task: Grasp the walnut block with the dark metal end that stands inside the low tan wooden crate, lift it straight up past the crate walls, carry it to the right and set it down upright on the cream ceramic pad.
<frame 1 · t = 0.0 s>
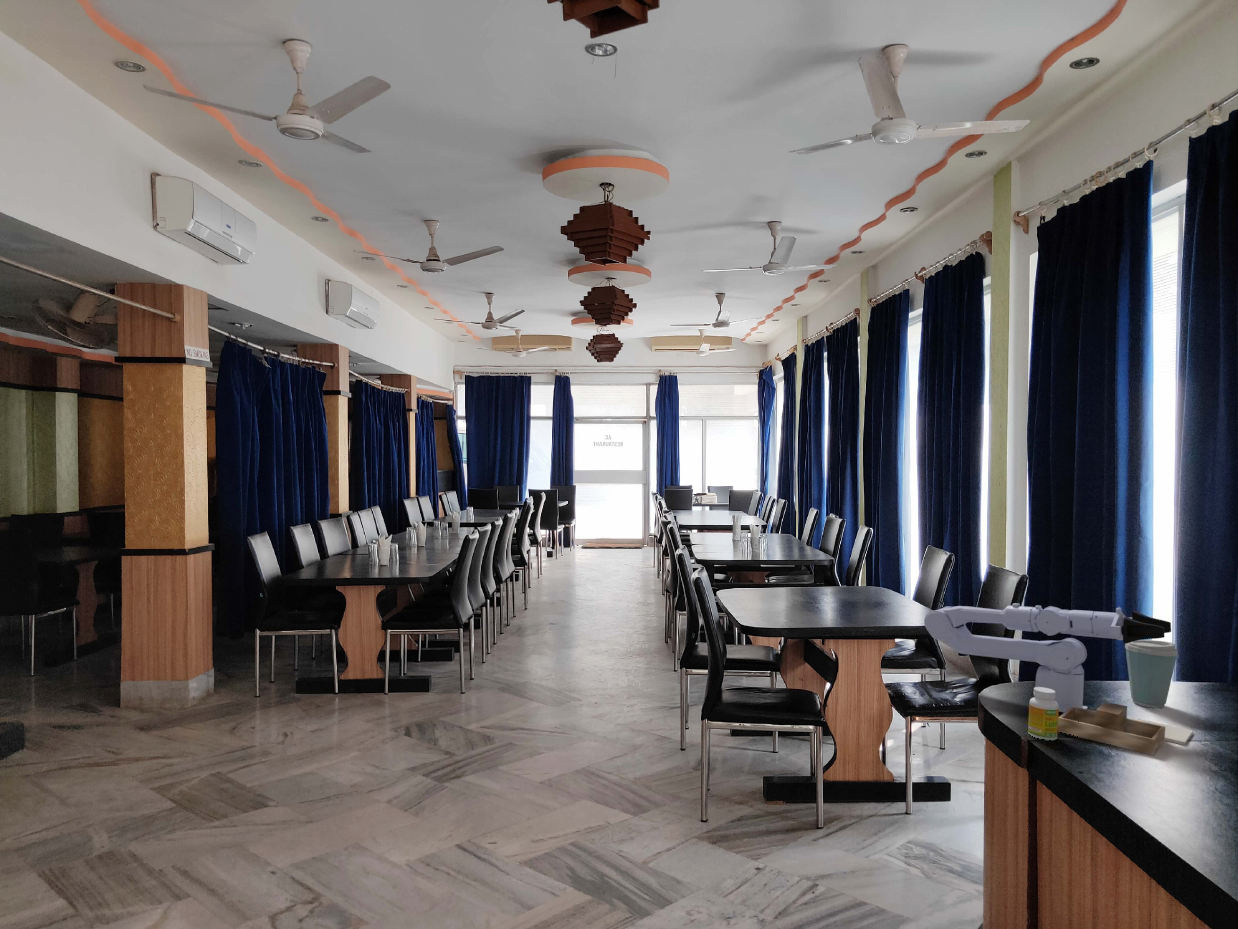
hand: (1167, 629, 173), 22 cm above the table, tool horizontal, fingers open, 7 cm apart
disposable coffee cup: (1148, 704, 192), on the table
crate: (1110, 736, 169), on the table
block: (1111, 722, 169), in the crate
supplement bottle: (1042, 737, 167), on the table
pad: (1160, 732, 172), on the table
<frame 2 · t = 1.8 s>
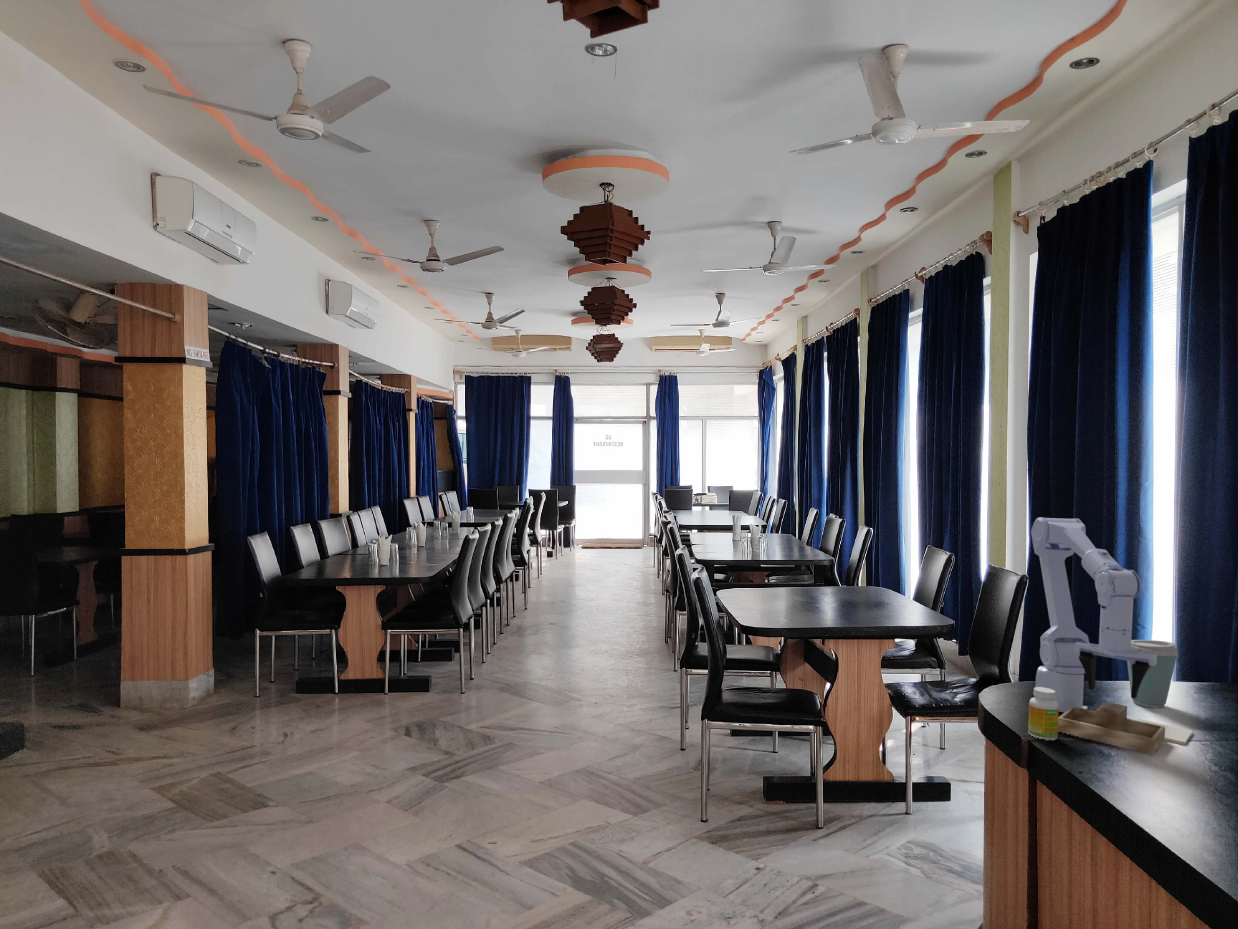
hand: (1112, 693, 168), 9 cm above the table, tool pointing down, fingers open, 7 cm apart
nothing on the table moved.
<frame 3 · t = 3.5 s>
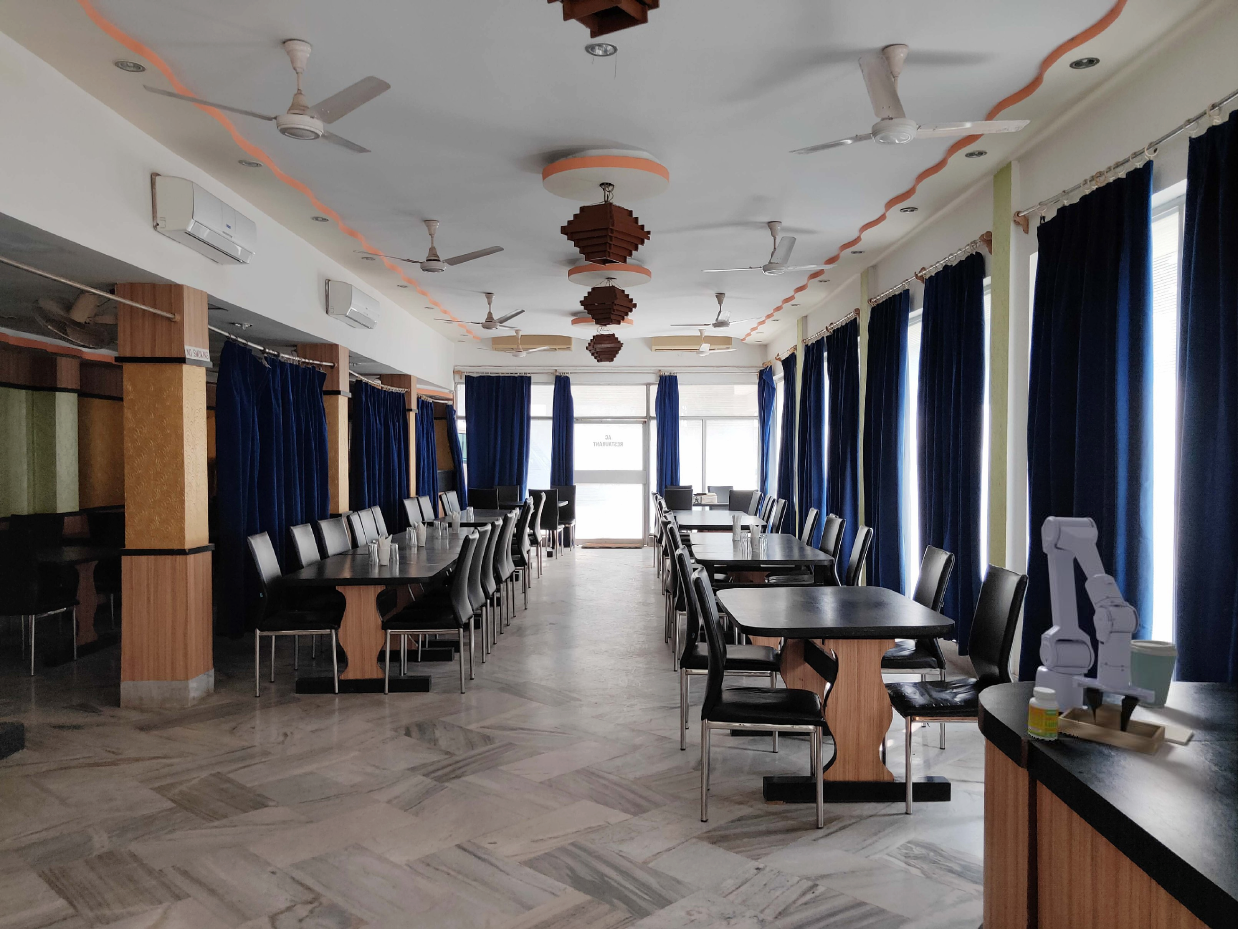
hand: (1110, 728, 169), 2 cm above the table, tool pointing down, fingers closed on block, 4 cm apart
block: (1111, 722, 169), in the crate, touching gripper
everything else where it was.
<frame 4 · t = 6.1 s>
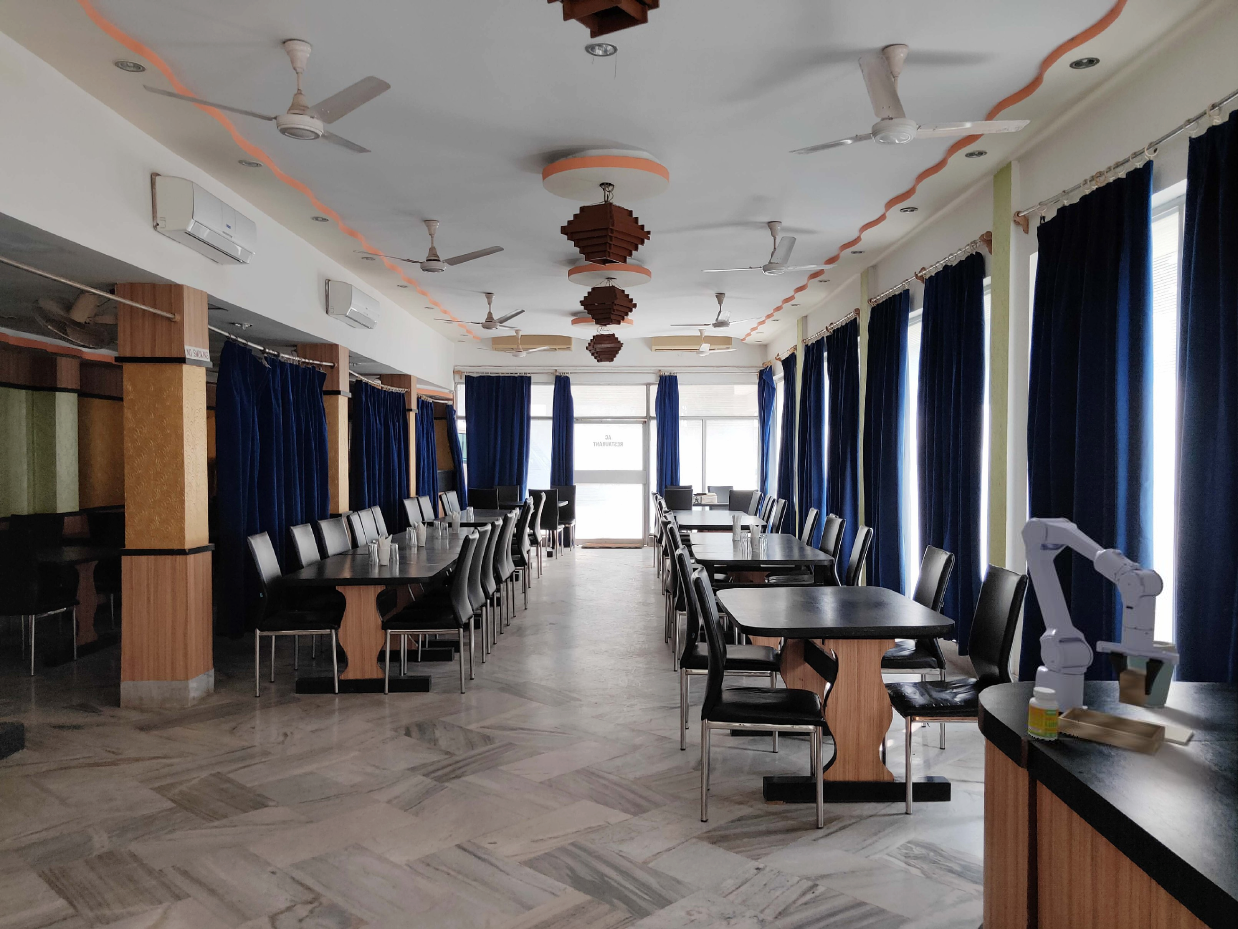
hand: (1135, 691, 170), 9 cm above the table, tool pointing down, fingers closed on block, 4 cm apart
block: (1135, 686, 170), point 10 cm above the table, touching gripper
everything else where it was.
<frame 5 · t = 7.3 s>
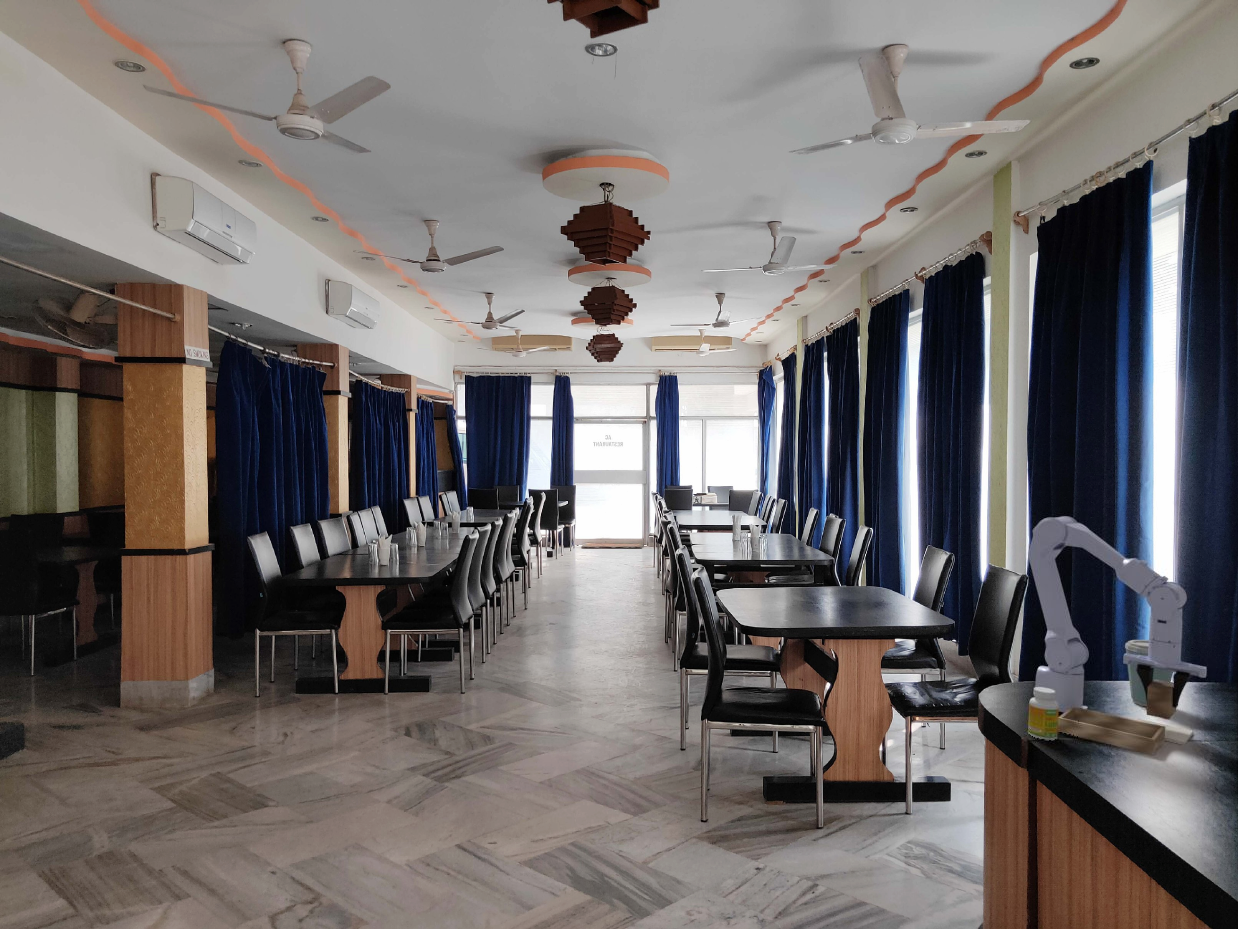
hand: (1162, 703, 172), 6 cm above the table, tool pointing down, fingers closed on block, 4 cm apart
block: (1162, 698, 172), point 7 cm above the table, touching gripper
everything else where it was.
when the fingers open (3 cm above the table, at t = 8.6 s): block stays where it is, resting on pad.
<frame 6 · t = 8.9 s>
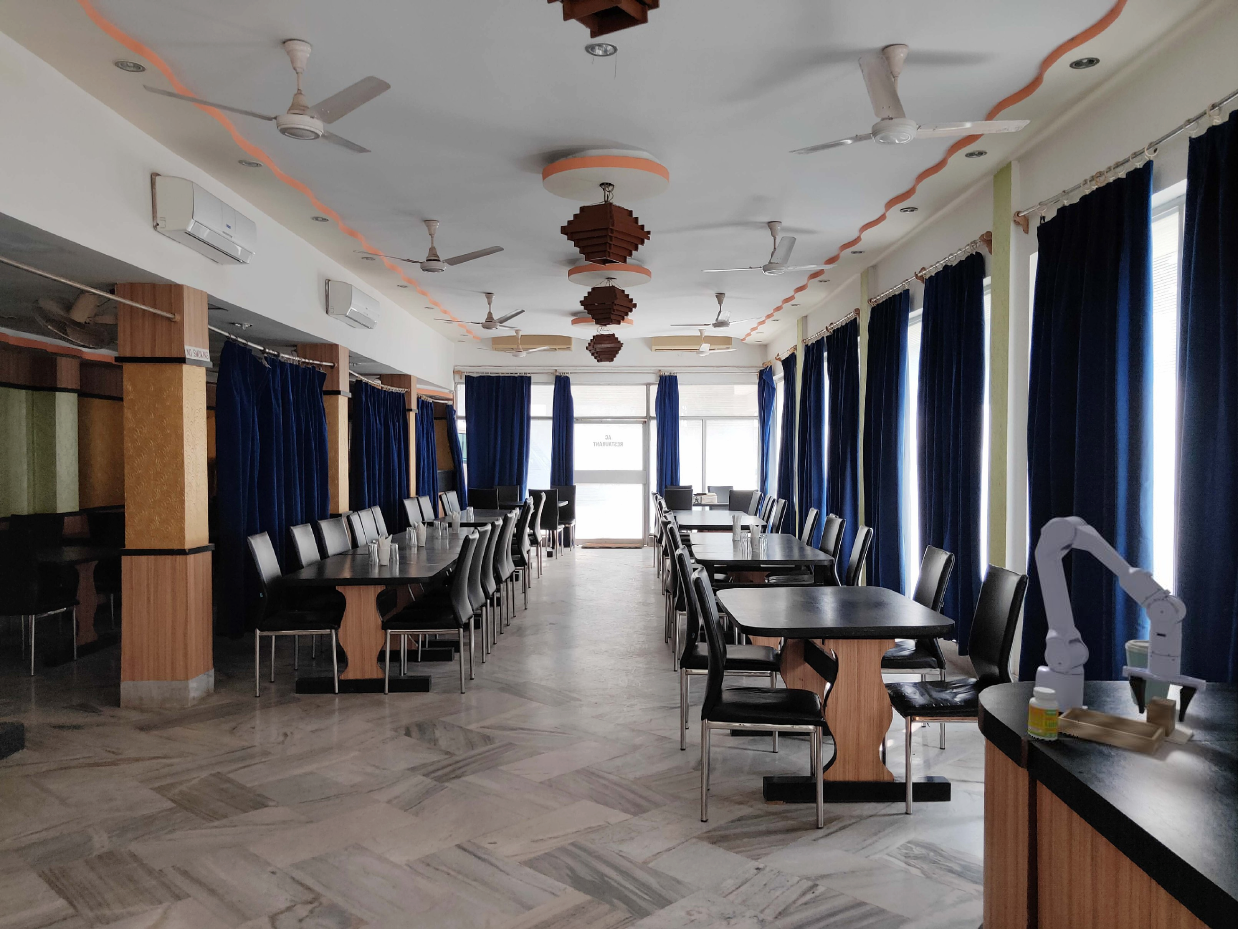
hand: (1161, 716, 172), 3 cm above the table, tool pointing down, fingers open, 6 cm apart
block: (1161, 716, 172), on the pad, point 4 cm above the table
everything else where it was.
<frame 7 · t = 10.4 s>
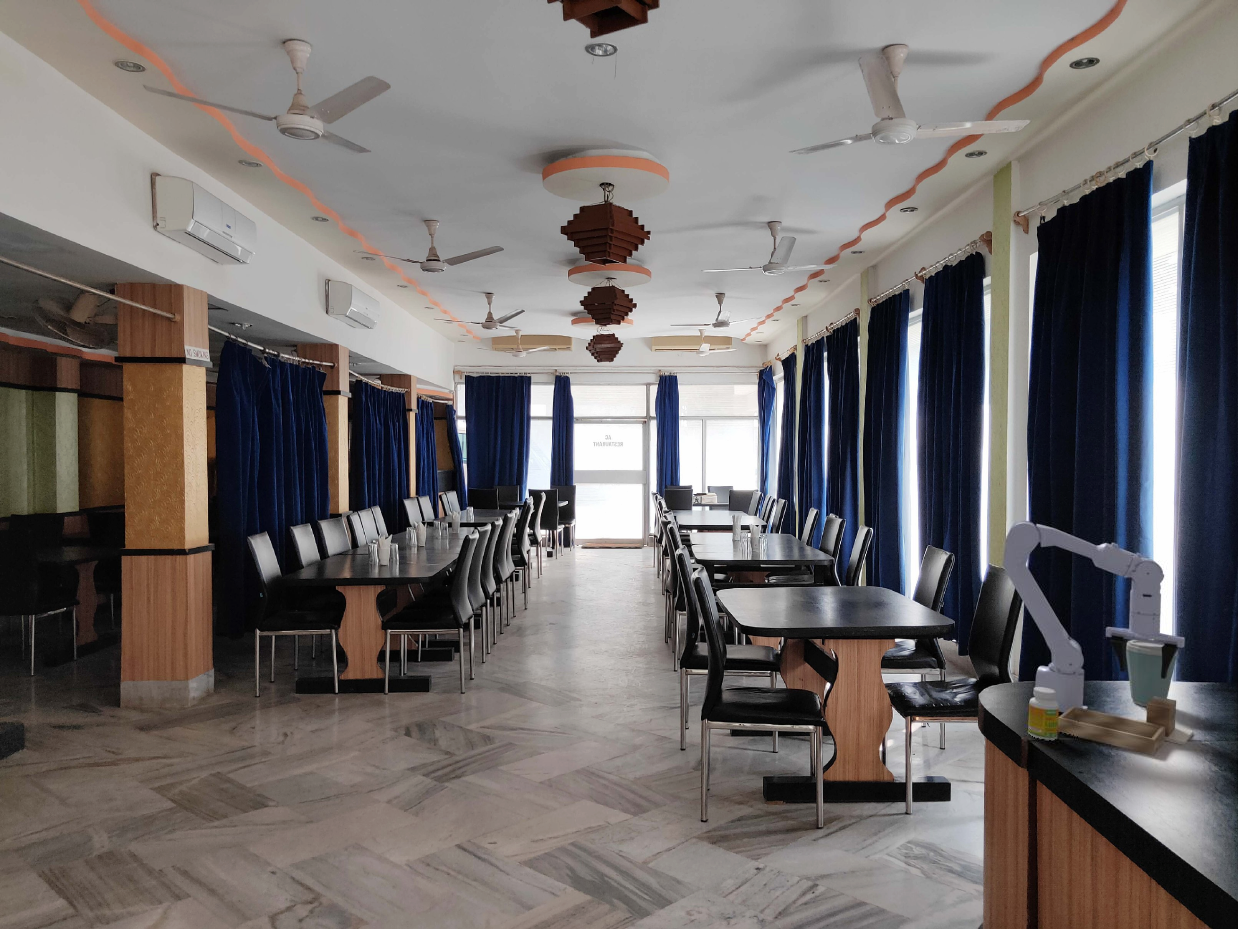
hand: (1143, 674, 179), 10 cm above the table, tool pointing down, fingers open, 7 cm apart
nothing on the table moved.
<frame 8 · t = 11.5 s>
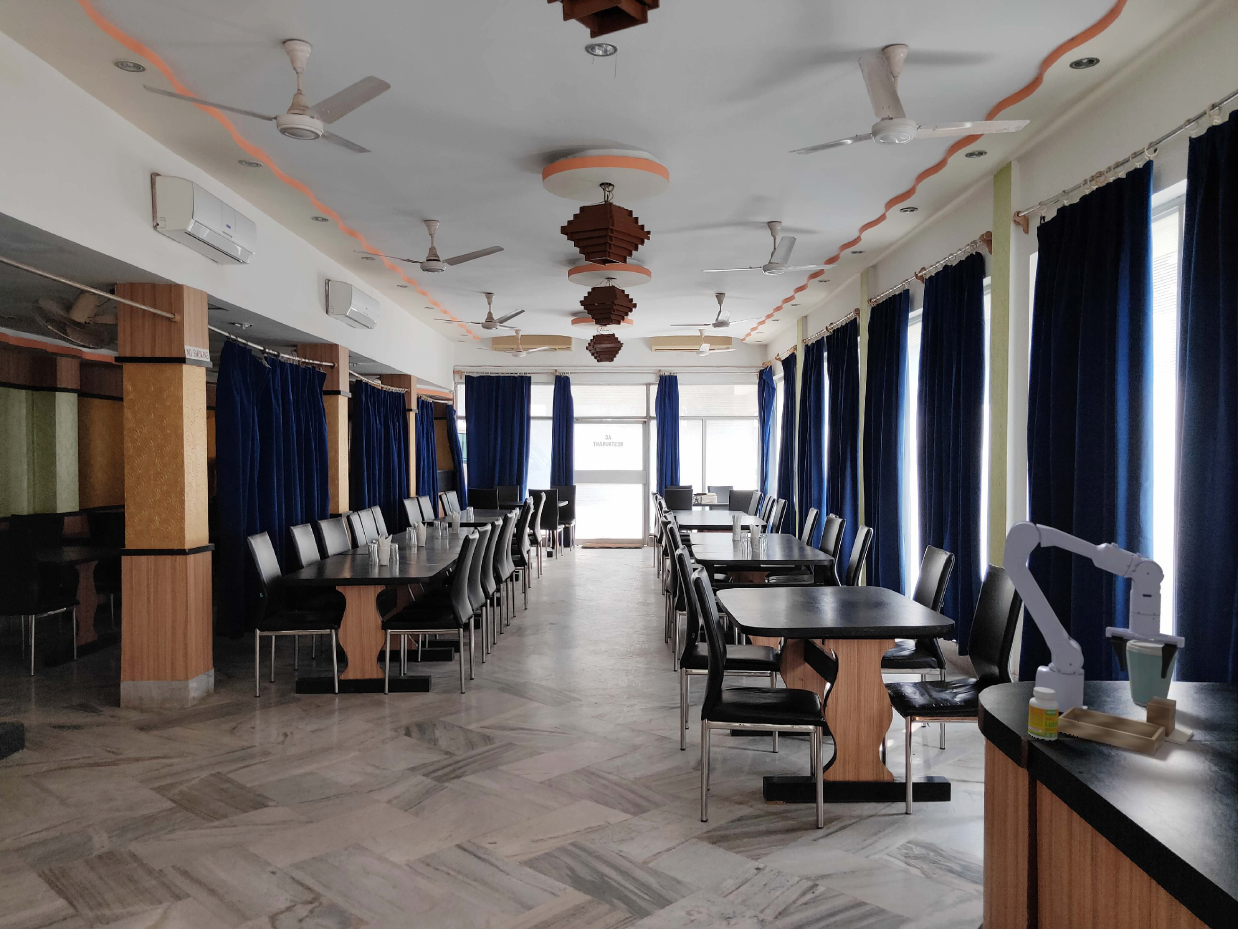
hand: (1143, 674, 179), 10 cm above the table, tool pointing down, fingers open, 7 cm apart
nothing on the table moved.
at the end: block 0.2 cm from the pad (horizontally); block tilted 0°; the gripper is holding nothing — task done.
